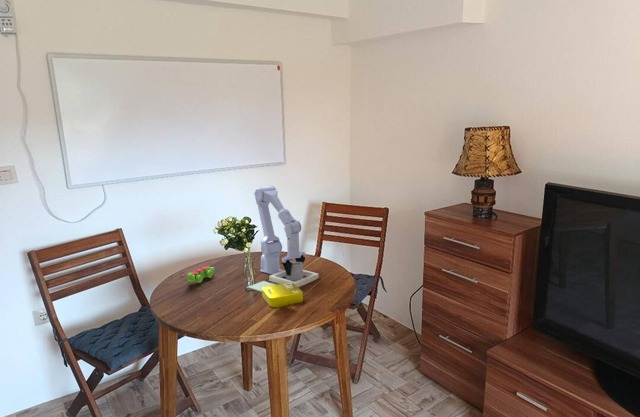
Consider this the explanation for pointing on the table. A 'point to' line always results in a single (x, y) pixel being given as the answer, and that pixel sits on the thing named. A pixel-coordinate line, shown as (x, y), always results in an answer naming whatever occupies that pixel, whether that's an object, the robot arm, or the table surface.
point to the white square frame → (278, 279)
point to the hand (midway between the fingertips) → (293, 273)
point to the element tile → (282, 294)
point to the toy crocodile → (200, 274)
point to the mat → (260, 285)
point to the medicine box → (295, 271)
